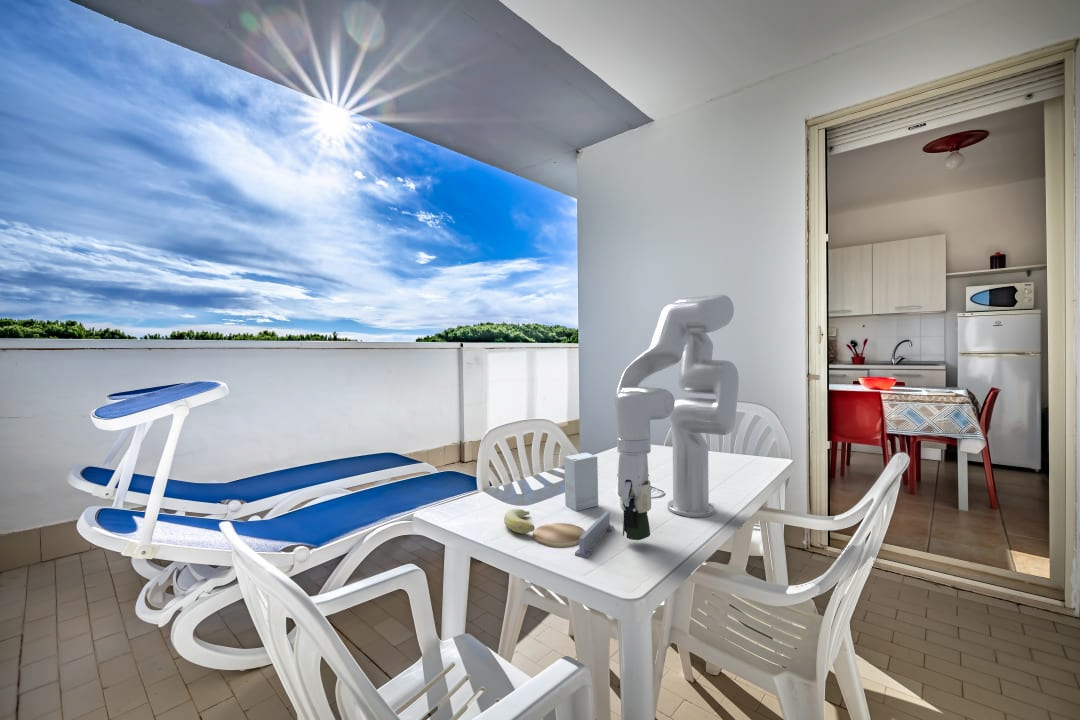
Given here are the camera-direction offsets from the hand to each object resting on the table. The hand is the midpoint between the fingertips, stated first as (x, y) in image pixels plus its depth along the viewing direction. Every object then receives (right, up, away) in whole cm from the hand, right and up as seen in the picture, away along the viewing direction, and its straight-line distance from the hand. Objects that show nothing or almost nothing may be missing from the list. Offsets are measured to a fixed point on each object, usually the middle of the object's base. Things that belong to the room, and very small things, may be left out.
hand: (635, 520), depth 105 cm
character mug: (0, -4, 0) cm, 4 cm away
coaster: (-17, -6, +6) cm, 19 cm away
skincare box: (-10, -6, +27) cm, 29 cm away
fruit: (-27, -6, +12) cm, 30 cm away
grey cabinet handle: (-9, -6, +3) cm, 11 cm away
